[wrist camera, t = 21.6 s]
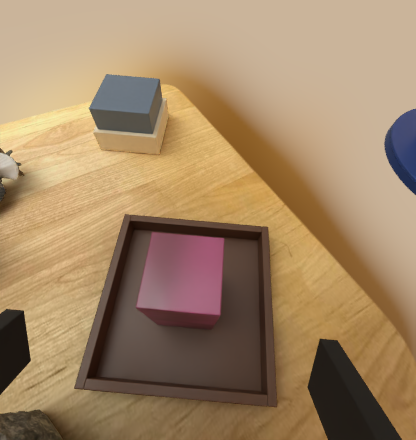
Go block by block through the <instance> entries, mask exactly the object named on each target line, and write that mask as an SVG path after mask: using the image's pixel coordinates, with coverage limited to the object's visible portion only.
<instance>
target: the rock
mask: <svg viewBox="0 0 416 440" xmlns="http://www.w3.org/2000/svg"><path fill="white" fill-rule="evenodd" d="M0 440H63V439H62V437H61V435H60V434H59V432H58V431H57V430H56V428H55V427H54V425H53V424H52V422H51V421H50V420H49V418H48V416H47V415H45V414H44V413H43V412H42V411H40V410H34V411H30V412H25V411H19V412H17V413H11V412H10V413H5V414H0Z"/></svg>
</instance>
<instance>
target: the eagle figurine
mask: <svg viewBox="0 0 416 440" xmlns="http://www.w3.org/2000/svg"><path fill="white" fill-rule="evenodd" d="M11 153H12V150H9V151H8V152H7V153H4V152H3V151H2V149H1V148H0V201H2V199H3V198H4V195H5V194H6V192H5V190H6V189H5V188H4V187H3V184H2V183H1V182H2V180H1V178H7V179H13V180H16V179H17V178H18V175H19V176H24V173H23V172H21V171H20V170H19V167H18V166H20V165H21V163H17V162H15V161H14V159H13V158H12V157H10V154H11Z"/></svg>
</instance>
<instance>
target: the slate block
mask: <svg viewBox="0 0 416 440" xmlns="http://www.w3.org/2000/svg"><path fill="white" fill-rule="evenodd" d="M161 103H162V93H161V86H160V80H159V79H154V78H142V77H131V76H120V75H109V74H107V75H106V76H105V78H104V80H103V82H102V84H101V86H100V88H99V90H98V92H97V94H96V96H95V97H94V99H93V101H92V103H91V105H90V107H89V110H90V112H91V114H92V117H93V119H94V121H95V123H96V126H97V128H98V129H100V130H111V131H122V132H134V133H145V134H153V132H154V128H155V125H156V121H157V117H158V114H159V110H160V107H161Z"/></svg>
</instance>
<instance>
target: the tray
mask: <svg viewBox="0 0 416 440" xmlns="http://www.w3.org/2000/svg"><path fill="white" fill-rule="evenodd" d="M152 232H159V233H170V234H181V235H192V236H203V237H214V238H224V259H223V279H222V299H221V315H220V317H219V319H218V320H217V322H216V324H215V325H214V327H213V329H212V330H208V329H197V328H186V327H175V326H164V325H157V324H156V323H155V322H153V321H152V320H151V319H149V318H148V317H147V316H146V315H144V314H143V313H142V312H140V311H139V310H138V309H136V303H137V298H138V293H139V289H140V284H141V280H142V275H143V270H144V266H145V261H146V257H147V252H148V248H149V243H150V238H151V234H152ZM74 388H75V389H84V390H94V391H105V392H116V393H127V394H137V395H148V396H159V397H170V398H181V399H192V400H203V401H214V402H225V403H235V404H246V405H257V406H269V407H277V394H276V374H275V354H274V334H273V314H272V294H271V274H270V254H269V234H268V227H261V226H250V225H239V224H228V223H217V222H205V221H194V220H183V219H172V218H161V217H150V216H138V215H127V214H125V216H124V219H123V223H122V226H121V230H120V233H119V236H118V240H117V243H116V247H115V250H114V254H113V257H112V260H111V264H110V267H109V271H108V274H107V278H106V281H105V284H104V288H103V291H102V295H101V298H100V302H99V305H98V308H97V312H96V315H95V319H94V322H93V326H92V329H91V332H90V336H89V339H88V343H87V346H86V350H85V353H84V356H83V360H82V363H81V367H80V370H79V374H78V377H77V380H76V384H75V387H74Z"/></svg>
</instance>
